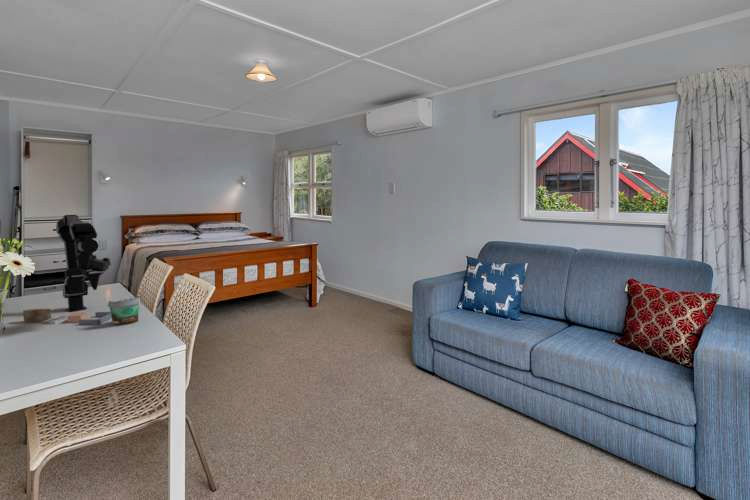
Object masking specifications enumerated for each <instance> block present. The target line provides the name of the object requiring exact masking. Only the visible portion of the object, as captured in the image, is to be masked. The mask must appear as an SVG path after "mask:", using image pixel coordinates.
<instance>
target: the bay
mask: <svg viewBox="0 0 750 500" xmlns="http://www.w3.org/2000/svg"><path fill="white" fill-rule="evenodd" d="M94 315H95V318H93V319H92V318H88V319H80V320H79V322H78V325H79V326H83V325H84V326H90V325H92V326H94V325H95V326H97V325H99V326H100V325H102V324H103V323H106V322H108V321H109V320H112V316H111V311H95V313H94Z"/></svg>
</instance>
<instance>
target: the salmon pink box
mask: <svg viewBox="0 0 750 500" xmlns="http://www.w3.org/2000/svg"><path fill="white" fill-rule="evenodd" d="M67 316H68V319H67V323H69V324H70V323H71V324H72V323H74V324H75V323H77V324H79V320H80V319H89V312H73V313H72V314H69V315H67Z"/></svg>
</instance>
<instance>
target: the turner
mask: <svg viewBox="0 0 750 500" xmlns="http://www.w3.org/2000/svg"><path fill="white" fill-rule="evenodd" d="M51 311H52V310H51V308H27V309H24V310H23V311H22V314H23V316H22V317H23V323H24V322H25V323H42V325H57V324H59V323H61V322H63V321H65V320H68V316H69V315H61V316H60V315H56V316H53V317H52V312H51Z"/></svg>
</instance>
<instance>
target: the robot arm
mask: <svg viewBox="0 0 750 500" xmlns="http://www.w3.org/2000/svg"><path fill="white" fill-rule="evenodd" d="M55 230H56V234H57V235H58V238H59V239H60V241H61V242H63V245H64V246H63V247H64V254H65V260H66V261H65V262H66V269H65V271H64V277H66V278H65V280H64V281H63V282H64V284H63V286H62V293H61V294H62V297H63V298H64V299H67V304H68V307H66V308H65V310H66V311H68V312H77V311H81V310H82V311H83V310H87V309H88V307H87V306H85V304H84V296H88V295H89V284H88V283H87V282H86V278H88V281H89V283H90V285H91V288H92V290H93V291H95V290H97V289H98V286H99V281H100V277H101V276H102V275H103V274H105V272H107V270H109V267H110V266H111V265H112V263H111V260H110V258H109V257H104V258H102V259H99V258H97V255H95V254H94V253H95V252H96V251H97V250H98V248H99V243H98V242H97V241H96V240H95V239H97V237H98V233H97V231H96V229H95V227H94V225H92V223H91V222H88V221H82V220H81V219H80V218H79V216H78V214H65V215H63V216H62V218H60V219H59V220H58V221H57V222H56V225H55Z"/></svg>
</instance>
